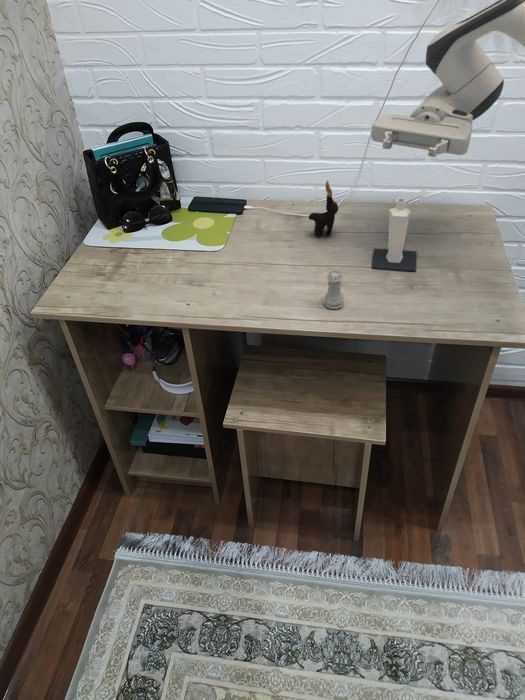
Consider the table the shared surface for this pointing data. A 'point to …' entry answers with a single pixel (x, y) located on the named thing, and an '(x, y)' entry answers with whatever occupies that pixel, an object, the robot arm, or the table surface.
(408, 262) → the mat
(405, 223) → the perfume bottle
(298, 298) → the table surface
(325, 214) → the figurine
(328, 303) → the rook chess piece
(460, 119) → the robot arm
